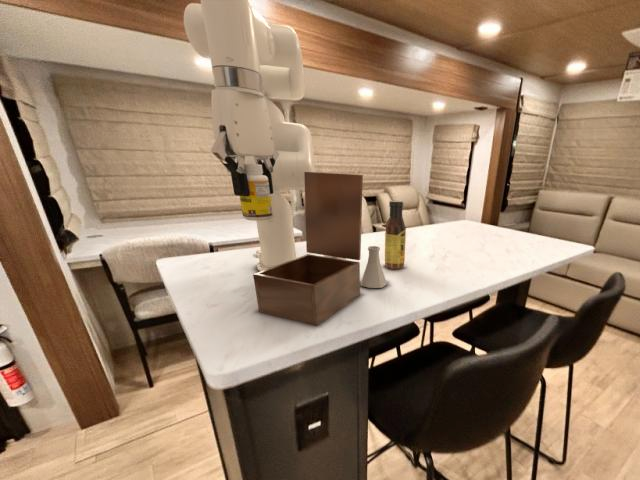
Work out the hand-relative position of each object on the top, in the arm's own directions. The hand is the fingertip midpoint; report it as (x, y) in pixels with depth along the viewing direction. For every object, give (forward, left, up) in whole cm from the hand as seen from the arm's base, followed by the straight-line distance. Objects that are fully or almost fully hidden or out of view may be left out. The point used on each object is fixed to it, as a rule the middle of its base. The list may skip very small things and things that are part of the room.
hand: (254, 193), depth 61 cm
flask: (+16, +20, -23) cm, 35 cm away
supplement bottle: (0, 0, -5) cm, 5 cm away
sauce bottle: (+15, +37, -23) cm, 47 cm away
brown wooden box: (+9, +3, -23) cm, 25 cm away
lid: (+9, +13, -5) cm, 16 cm away
